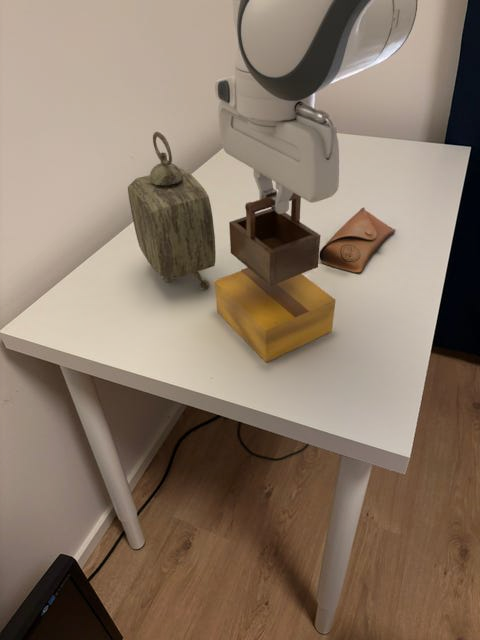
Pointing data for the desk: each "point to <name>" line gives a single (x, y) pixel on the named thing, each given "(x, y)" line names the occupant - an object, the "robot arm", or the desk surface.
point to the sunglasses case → (355, 242)
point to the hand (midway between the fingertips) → (273, 207)
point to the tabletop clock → (173, 219)
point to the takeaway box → (274, 311)
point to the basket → (274, 241)
